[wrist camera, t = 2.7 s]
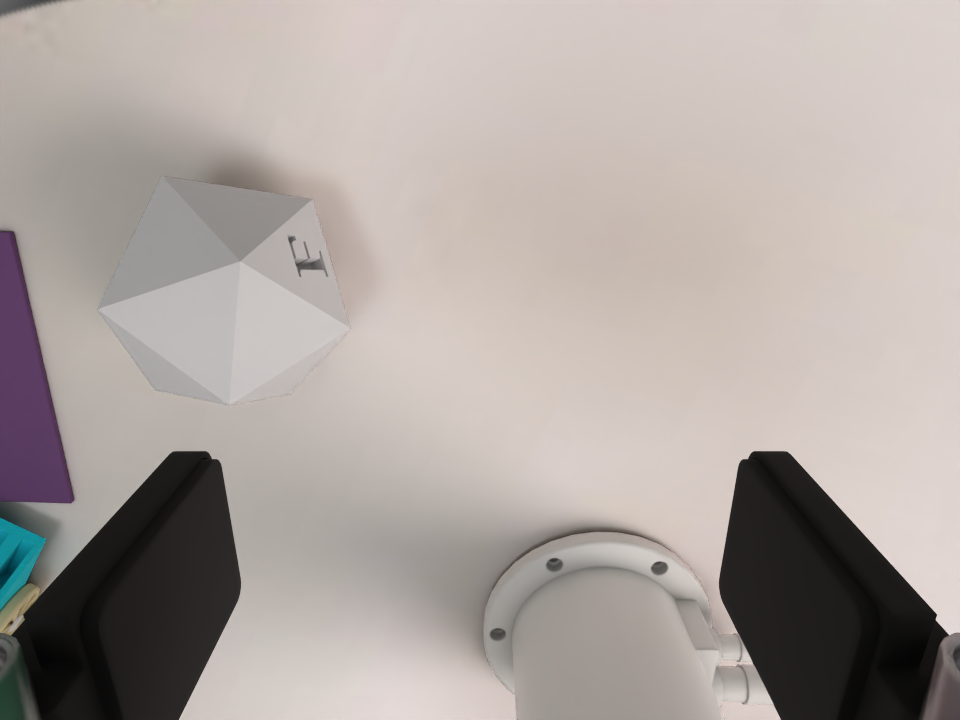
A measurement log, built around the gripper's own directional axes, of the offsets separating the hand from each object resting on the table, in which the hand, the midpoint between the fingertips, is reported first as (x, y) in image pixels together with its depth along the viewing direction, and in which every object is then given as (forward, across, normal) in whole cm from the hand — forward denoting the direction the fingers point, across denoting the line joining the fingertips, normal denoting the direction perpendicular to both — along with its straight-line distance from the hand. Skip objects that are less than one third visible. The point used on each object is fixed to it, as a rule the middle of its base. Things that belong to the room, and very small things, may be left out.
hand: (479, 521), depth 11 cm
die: (+19, -10, 0) cm, 21 cm away
